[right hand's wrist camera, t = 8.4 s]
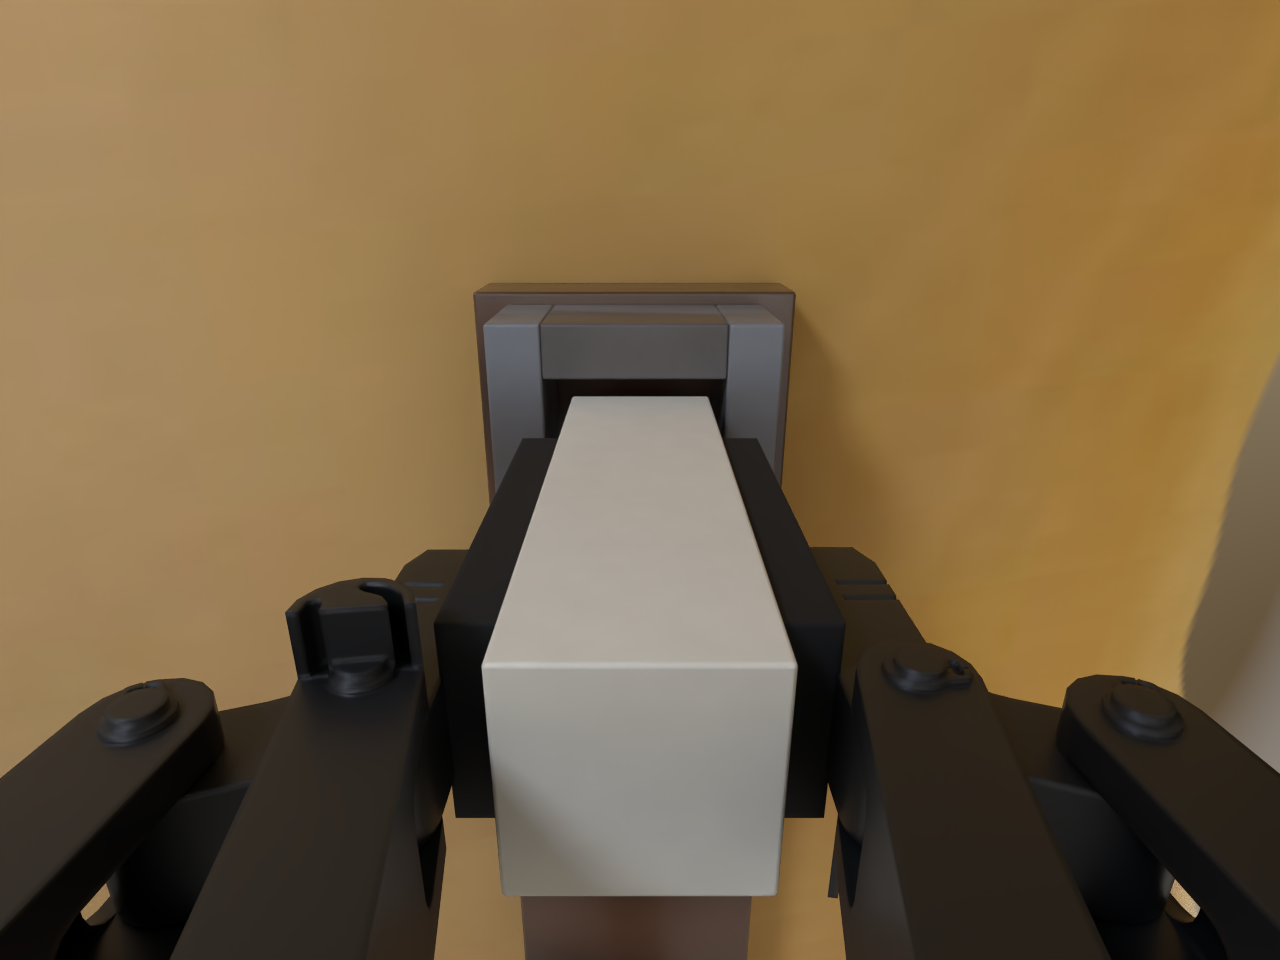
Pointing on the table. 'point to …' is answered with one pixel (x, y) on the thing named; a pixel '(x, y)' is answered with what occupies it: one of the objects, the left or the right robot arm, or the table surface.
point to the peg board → (536, 408)
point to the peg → (639, 669)
